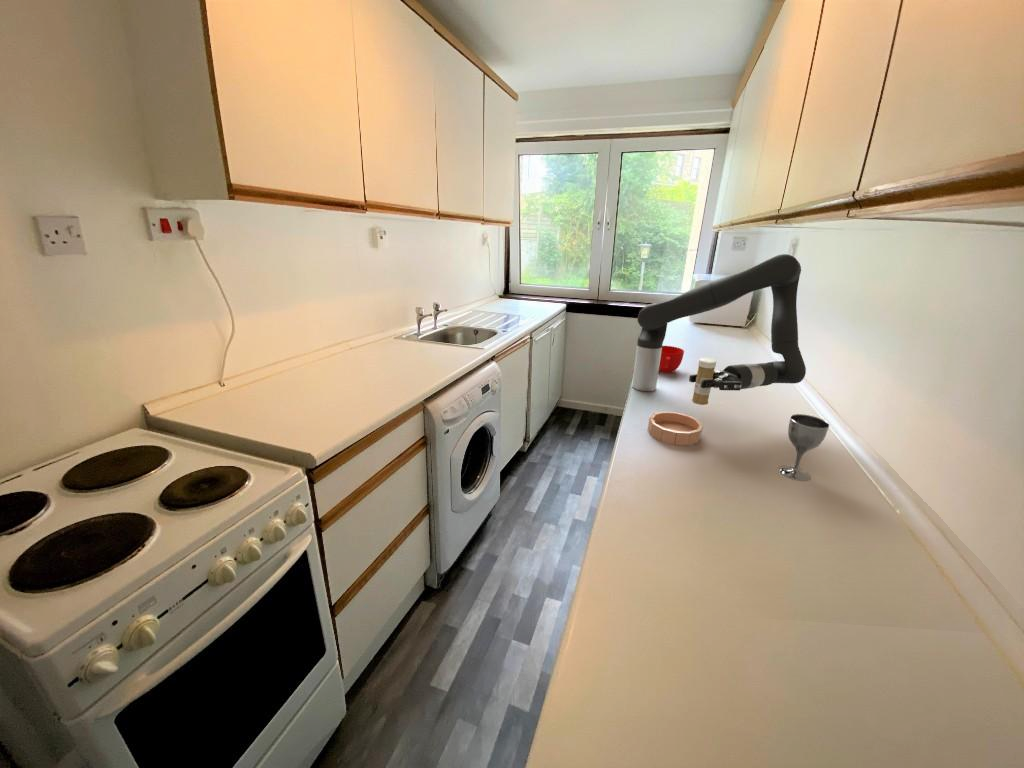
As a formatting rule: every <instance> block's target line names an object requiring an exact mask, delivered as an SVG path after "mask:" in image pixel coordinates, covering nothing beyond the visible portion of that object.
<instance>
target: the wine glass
mask: <svg viewBox="0 0 1024 768" xmlns="http://www.w3.org/2000/svg"><path fill="white" fill-rule="evenodd" d="M788 422H789V423H788V431H787V433H788V434H787V436H788V439H789V441H790V443H791V444H792V446H793V447H794V449H795V451H796V457H795V458H796V459H795V463H794V466H793V465H781V466H779V467H778V471H779V472H780V474H782V475H783V476H784V477H787V478H789V479H793V480H796V481H800V482H804V481H805V482H807V481H809V480H811V478H812V476H811V474H810V473H809V472H808V471H806V470H805V469H802V468H799V465H800V462H801V460H802V458H803V456H804V455H805V454H806V453H808V452H809V451H811V450H814V449H816V448H818V447H819V446H820V445H821V444H822V443H823V441H824V440H825V438H826V436H827V433H828V430H829V428H830V424H829V422H827V421H826V420H825V419H822V418H819V417H817V416H814V415H808V414H801V413H799V414H798V413H797V414H792V415H791V416H790V418H789V421H788Z"/></svg>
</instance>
